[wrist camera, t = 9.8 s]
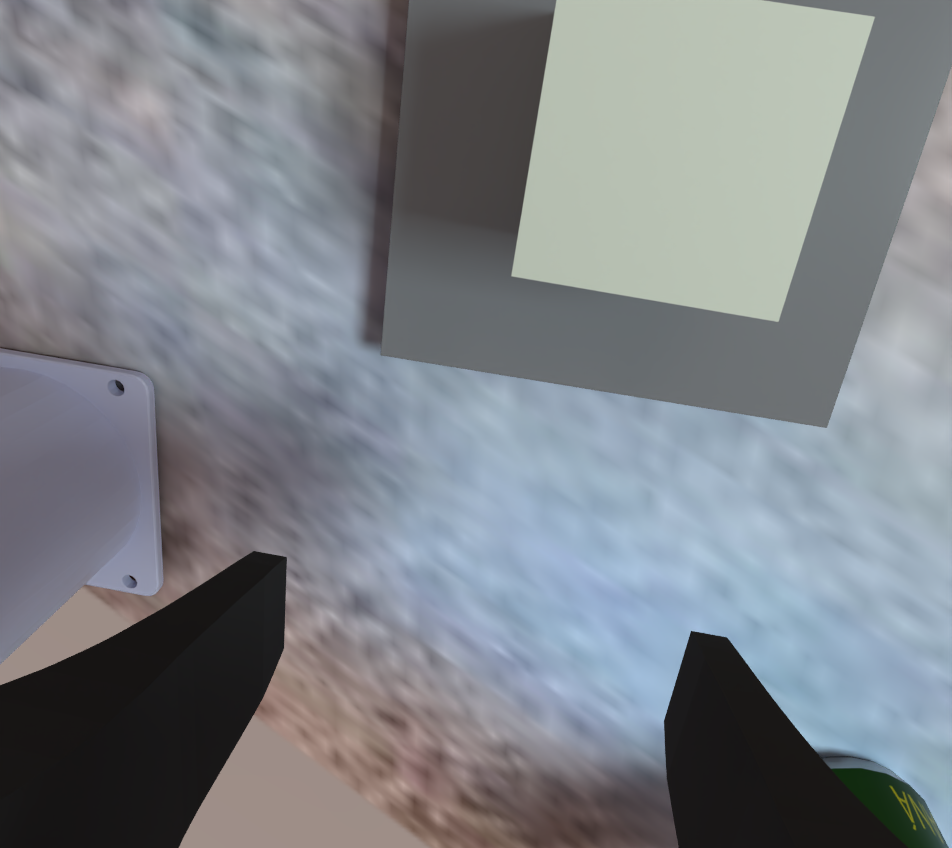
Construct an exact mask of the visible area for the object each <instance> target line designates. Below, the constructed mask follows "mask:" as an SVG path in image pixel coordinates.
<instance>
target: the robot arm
mask: <svg viewBox="0 0 952 848" xmlns="http://www.w3.org/2000/svg"><path fill="white" fill-rule="evenodd" d="M115 380H118V381H120V382H121V383H122V384H123V386H124V389H125V390H124V392H123V391H121V390H119V389H118V388H117V386H116V383H115ZM286 564H287V557H283V556H278V555H272V554H267V553H261V552H256V551H253V552H252V553H250V554H248V555H247V556H245V557H244V558H242V559H240V560H239V561H237V562H236V563H234V564H233V565H231V566H230V567H228V568H226V569H225V570H223V571H222V572H220V573H219V574H217V575H216V576H214V577H213V578H211V579H209V580H208V581H206V582H205V583H203V584H202V585H200V586H198V587H197V588H195V589H194V590H192V591H190V592H189V593H187V594H186V595H184V596H182V597H181V598H179V599H177V600H176V601H174V602H173V603H171V604H169V605H168V606H166V607H164V608H163V609H161V610H159V611H157V612H156V613H154V614H152V615H150V616H148V617H147V618H145V619H143V620H141V621H139V622H138V623H136V624H134V625H132V626H131V627H129V628H127V629H125V630H123V631H122V632H120V633H118V634H116V635H114V636H113V637H110V638H109V639H107V640H105V641H103V642H101V643H99V644H97V645H95V646H93V647H90V648H89V649H86V650H84V651H83V652H80V653H78V654H75V655H73V656H71V657H69V658H67V659H64V660H62V661H60V662H58V663H56V664H54V665H51V666H49V667H47V668H44V669H42V670H39V671H36V672H34V673H31V674H29V675H26V676H24V677H21V678H18V679H16V680H13V681H11V682H8V683H5V684H3V685H0V848H179V846H180V843H181V841H182V839H183V837H184V835H185V833H186V831H187V830H188V828H189V826H190V824H191V822H192V820H193V818H194V816H195V814H196V813H197V811H198V809H199V807H200V806H201V804H202V802H203V800H204V799H205V797H206V795H207V794H208V792H209V790H210V788H211V787H212V785H213V783H214V782H215V780H216V778H217V776H218V774H219V773H220V771H221V770H222V768H223V766H224V765H225V763H226V761H227V759H228V758H229V756H230V754H231V752H232V751H233V749H234V748H235V746H236V744H237V742H238V741H239V739H240V737H241V736H242V734H243V732H244V730H245V729H246V727H247V725H248V723H249V722H250V720H251V718H252V716H253V715H254V713H255V711H256V709H257V708H258V706H259V704H260V702H261V701H262V699H263V697H264V694H265V692H266V690H267V687H268V685H269V683H270V681H271V678H272V676H273V674H274V671H275V669H276V666H277V664H278V661H279V659H280V657H281V654H282V652H283V649H284V629H285V597H286ZM129 575H130V576H133V577H134V578H135V579H136V581H137V582H136V581H134V580H132V579H131V578H130V576H129ZM84 584H86V585H91V586H96V587H102V588H107V589H112V590H118V591H123V592H128V593H133V594H139V595H144V596H152V595H154V594H156V593H157V591H158V590H159V589H160V588H161V587H162V586H163V561H162V540H161V520H160V499H159V479H158V458H157V438H156V417H155V396H154V387H153V383H152V382H151V380H150V379H149V377H147V376H146V375H145V374H144V373H141V372H138V371H133V370H127V369H121V368H115V367H109V366H103V365H97V364H91V363H85V362H79V361H73V360H68V359H62V358H56V357H50V356H44V355H38V354H32V353H26V352H20V351H14V350H8V349H2V348H0V664H1V663H2V662H3V661H4V660H5V659H6V658H8V657H9V656H10V655H11V654H12V653H13V652H14V651H15V650H16V649H17V648H18V647H19V646H20V645H21V644H22V643H23V642H24V641H25V640H27V638H28V637H30V636H31V635H32V634H33V633H34V632H35V631H36V630H37V629H38V628H39V627H40V626H41V625H42V624H43V623H44V622H45V621H47V619H49V618H50V617H51V616H52V615H53V614H54V613H55V612H56V611H57V610H58V609H59V608H60V607H61V606H62V605H63V604H64V603H66V602H67V601H68V600H69V599H70V598H71V597H72V596H73V595H74V594H75V593H76V592H77V591H78V590H79V589H80V588H81V587H82V586H83V585H84ZM664 730H665V754H666V770H667V781H668V787H669V794H670V799H671V805H672V811H673V817H674V823H675V828H676V834H677V839H678V845H679V848H908V847H907V846H906V845H905V844H904V843H903V842H902V841H901V840H900V839H898V838H897V837H896V836H895V835H894V834H893V833H892V832H891V831H890V830H889V829H888V828H887V827H886V826H885V825H884V824H883V823H882V822H881V821H880V820H879V819H878V818H877V817H876V816H875V815H874V814H873V813H872V812H871V811H870V810H869V809H868V808H867V807H866V806H865V805H864V804H863V803H862V802H861V801H860V800H859V799H858V798H857V797H856V796H855V795H854V794H853V793H852V792H851V791H850V790H849V788H848V787H847V786H846V785H845V784H844V783H843V782H842V781H841V780H840V779H839V778H838V776H837V775H836V774H835V773H834V772H833V771H832V770H831V769H830V767H829V766H828V765H827V764H826V763H825V762H824V761H823V760H822V758H821V757H820V756H819V755H818V754H817V753H816V752H815V750H814V749H813V748H812V747H811V746H810V744H809V743H808V742H807V741H806V740H805V738H804V737H803V736H802V735H801V734H800V732H799V731H798V730H797V729H796V728H795V726H794V725H793V724H792V723H791V721H790V720H789V719H788V718H787V716H786V715H785V714H784V712H783V711H782V710H781V709H780V707H779V706H778V705H777V703H776V702H775V701H774V700H773V698H772V697H771V696H770V694H769V693H768V692H767V690H766V689H765V688H764V686H763V685H762V684H761V682H760V681H759V680H758V678H757V677H756V676H755V674H754V673H753V672H752V670H751V669H750V668H749V666H748V665H747V664H746V662H745V661H744V659H743V658H742V657H741V655H740V654H739V653H738V651H737V650H736V649H735V647H734V646H733V645H732V643H731V642H730V641H729V640H728V638H727V637H721V636H716V635H710V634H705V633H699V632H694V631H691V633H690V637H689V640H688V643H687V647H686V650H685V653H684V657H683V660H682V663H681V667H680V670H679V673H678V677H677V680H676V683H675V686H674V690H673V693H672V696H671V700H670V703H669V706H668V710H667V713H666V716H665V720H664Z"/></svg>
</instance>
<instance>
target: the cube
mask: <svg viewBox="0 0 952 848" xmlns="http://www.w3.org/2000/svg"><path fill="white" fill-rule="evenodd" d="M874 19H875V17H873V16H867V15H860V14H853V13H846V12H839V11H832V10H825V9H819V8H812V7H805V6H798V5H791V4H784V3H778V2H771V1H764V0H557V1H556V7H555V13H554V19H553V25H552V31H551V37H550V43H549V49H548V55H547V61H546V68H545V74H544V80H543V86H542V92H541V98H540V104H539V110H538V116H537V122H536V128H535V135H534V141H533V147H532V153H531V159H530V165H529V171H528V177H527V183H526V189H525V196H524V202H523V208H522V214H521V220H520V226H519V232H518V238H517V244H516V250H515V256H514V263H513V269H512V275H511V276H513V277H519V278H524V279H530V280H536V281H542V282H548V283H554V284H560V285H565V286H571V287H577V288H583V289H589V290H595V291H600V292H606V293H612V294H618V295H624V296H630V297H635V298H641V299H647V300H653V301H659V302H665V303H670V304H676V305H682V306H688V307H694V308H700V309H706V310H711V311H717V312H723V313H729V314H735V315H741V316H746V317H752V318H758V319H764V320H770V321H776V322H779V318H780V315H781V312H782V309H783V306H784V303H785V300H786V296H787V293H788V290H789V287H790V284H791V281H792V277H793V274H794V271H795V268H796V265H797V262H798V258H799V255H800V252H801V249H802V246H803V243H804V240H805V236H806V233H807V230H808V227H809V224H810V221H811V217H812V214H813V211H814V208H815V205H816V202H817V198H818V195H819V192H820V189H821V186H822V183H823V180H824V176H825V173H826V170H827V167H828V164H829V161H830V157H831V154H832V151H833V148H834V145H835V142H836V139H837V135H838V132H839V129H840V126H841V123H842V120H843V116H844V113H845V110H846V107H847V104H848V101H849V97H850V94H851V91H852V88H853V85H854V82H855V79H856V75H857V72H858V69H859V66H860V63H861V60H862V56H863V53H864V50H865V47H866V44H867V41H868V37H869V34H870V31H871V28H872V25H873V22H874Z"/></svg>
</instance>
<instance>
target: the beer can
mask: <svg viewBox="0 0 952 848" xmlns="http://www.w3.org/2000/svg"><path fill="white" fill-rule="evenodd" d="M822 760H823V761H824V762H825V763H826V764H827V765H828V766H829V767H830V769H831V770H832V771H833V772H834V773H835V774H836V775H837V776H838V778H839V779H840V780H841V781H842V782H843V783H844V784H845V785H846V786H847V787H848V788H849V790H850V791H851V792H852V793H853V794H854V795H855V796H856V797H857V798H858V799H859V800H860V801H861V802H862V803H863V804H864V805H865V806H866V807H867V808H868V809H869V810H870V811H871V812H872V813H873V814H874V815H875V816H876V817H877V818H878V819H879V820H880V821H881V822H882V823H883V824H884V825H885V826H886V827H887V828H888V829H889V830H890V831H891V832H892V833H893V834H894V835H895V836H896V837H897V838H898V839H900V840H901V841H902V842H903V843H904V844H905V845H906V846H907V847H908V848H948V846H947V844H946V842H945V840H944V838H943V836H942V834H941V832H940V830H939V828H938V826H937V824H936V822H935V820H934V818H933V816H932V814H931V812H930V810H929V808H928V806H927V804H926V802H925V801H924V799H923V798H922V797H921V796H920V795H919V794H918V793H917V792H916V791H915V790H914V789H913V788H912V787H911V786H910V785H909V784H907V783H906V782H905V781H904V780H902V779H901V778H900V777H899V776H897V775H896V774H895V773H894V772H892V771H891V770H889V769H887V768H885V767H883V766H881V765H879V764H877V763H875V762H872V761H868V760H863V759H858V758H854V757H826V758H822Z"/></svg>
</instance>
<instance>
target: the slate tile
mask: <svg viewBox="0 0 952 848" xmlns="http://www.w3.org/2000/svg"><path fill="white" fill-rule="evenodd" d="M556 1H557V0H409V7H408V19H407V32H406V44H405V57H404V69H403V82H402V94H401V107H400V119H399V132H398V144H397V157H396V169H395V182H394V194H393V207H392V219H391V232H390V244H389V257H388V269H387V282H386V294H385V307H384V320H383V332H382V345H381V355H383V356H389V357H395V358H401V359H407V360H413V361H419V362H425V363H432V364H438V365H444V366H450V367H456V368H462V369H468V370H475V371H481V372H487V373H493V374H499V375H505V376H511V377H518V378H524V379H530V380H536V381H542V382H548V383H554V384H561V385H567V386H573V387H579V388H585V389H591V390H597V391H604V392H610V393H616V394H622V395H628V396H634V397H640V398H647V399H653V400H659V401H665V402H671V403H677V404H683V405H689V406H696V407H702V408H708V409H714V410H720V411H726V412H732V413H739V414H745V415H751V416H757V417H763V418H769V419H775V420H782V421H788V422H794V423H800V424H806V425H812V426H818V427H825V428H827V426H828V423H829V420H830V417H831V414H832V411H833V408H834V405H835V402H836V399H837V397H838V394H839V391H840V388H841V385H842V382H843V379H844V376H845V373H846V371H847V368H848V365H849V362H850V359H851V356H852V353H853V350H854V347H855V344H856V342H857V339H858V336H859V333H860V330H861V327H862V324H863V321H864V318H865V315H866V313H867V310H868V307H869V304H870V301H871V298H872V295H873V292H874V289H875V286H876V284H877V281H878V278H879V275H880V272H881V269H882V266H883V263H884V260H885V258H886V255H887V252H888V249H889V246H890V243H891V240H892V237H893V234H894V231H895V229H896V226H897V223H898V220H899V217H900V214H901V211H902V208H903V205H904V202H905V200H906V197H907V194H908V191H909V188H910V185H911V182H912V179H913V176H914V173H915V171H916V168H917V165H918V162H919V159H920V156H921V153H922V150H923V147H924V145H925V142H926V139H927V136H928V133H929V130H930V127H931V124H932V121H933V118H934V116H935V113H936V110H937V107H938V104H939V101H940V98H941V95H942V92H943V89H944V87H945V84H946V81H947V78H948V75H949V72H950V69H951V66H952V0H764V1H771V2H778V3H784V4H791V5H798V6H805V7H812V8H819V9H825V10H832V11H839V12H846V13H853V14H860V15H867V16H873V17H875V19H874V22H873V25H872V28H871V31H870V34H869V37H868V41H867V44H866V47H865V50H864V53H863V56H862V60H861V63H860V66H859V69H858V72H857V75H856V79H855V82H854V85H853V88H852V91H851V94H850V97H849V101H848V104H847V107H846V110H845V113H844V116H843V120H842V123H841V126H840V129H839V132H838V135H837V139H836V142H835V145H834V148H833V151H832V154H831V157H830V161H829V164H828V167H827V170H826V173H825V176H824V180H823V183H822V186H821V189H820V192H819V195H818V198H817V202H816V205H815V208H814V211H813V214H812V217H811V221H810V224H809V227H808V230H807V233H806V236H805V240H804V243H803V246H802V249H801V252H800V255H799V258H798V262H797V265H796V268H795V271H794V274H793V277H792V281H791V284H790V287H789V290H788V293H787V296H786V300H785V303H784V306H783V309H782V312H781V315H780V318H779V322H776V321H770V320H764V319H758V318H752V317H746V316H741V315H735V314H729V313H723V312H717V311H711V310H706V309H700V308H694V307H688V306H682V305H676V304H670V303H665V302H659V301H653V300H647V299H641V298H635V297H630V296H624V295H618V294H612V293H606V292H600V291H595V290H589V289H583V288H577V287H571V286H565V285H560V284H554V283H548V282H542V281H536V280H530V279H524V278H519V277H513V276H511V275H512V269H513V263H514V256H515V250H516V244H517V238H518V232H519V226H520V220H521V214H522V208H523V202H524V196H525V189H526V183H527V177H528V171H529V165H530V159H531V153H532V147H533V141H534V135H535V128H536V122H537V116H538V110H539V104H540V98H541V92H542V86H543V80H544V74H545V68H546V61H547V55H548V49H549V43H550V37H551V31H552V25H553V19H554V13H555V7H556Z"/></svg>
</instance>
